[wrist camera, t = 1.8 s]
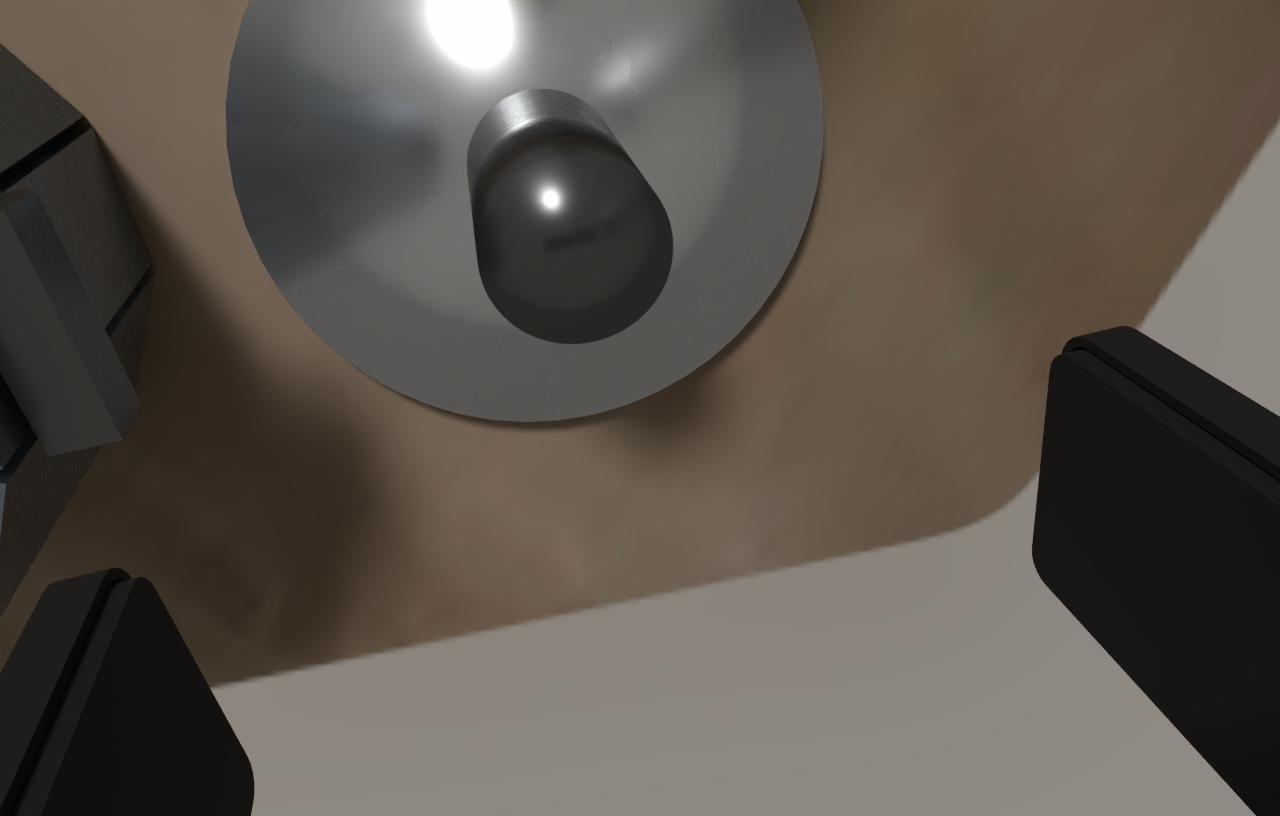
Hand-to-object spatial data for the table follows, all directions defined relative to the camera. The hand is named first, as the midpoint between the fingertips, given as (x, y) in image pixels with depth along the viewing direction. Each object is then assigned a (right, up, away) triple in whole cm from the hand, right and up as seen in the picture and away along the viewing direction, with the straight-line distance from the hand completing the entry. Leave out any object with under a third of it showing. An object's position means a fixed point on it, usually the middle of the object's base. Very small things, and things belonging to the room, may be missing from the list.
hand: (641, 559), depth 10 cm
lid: (-3, +8, +13) cm, 16 cm away
